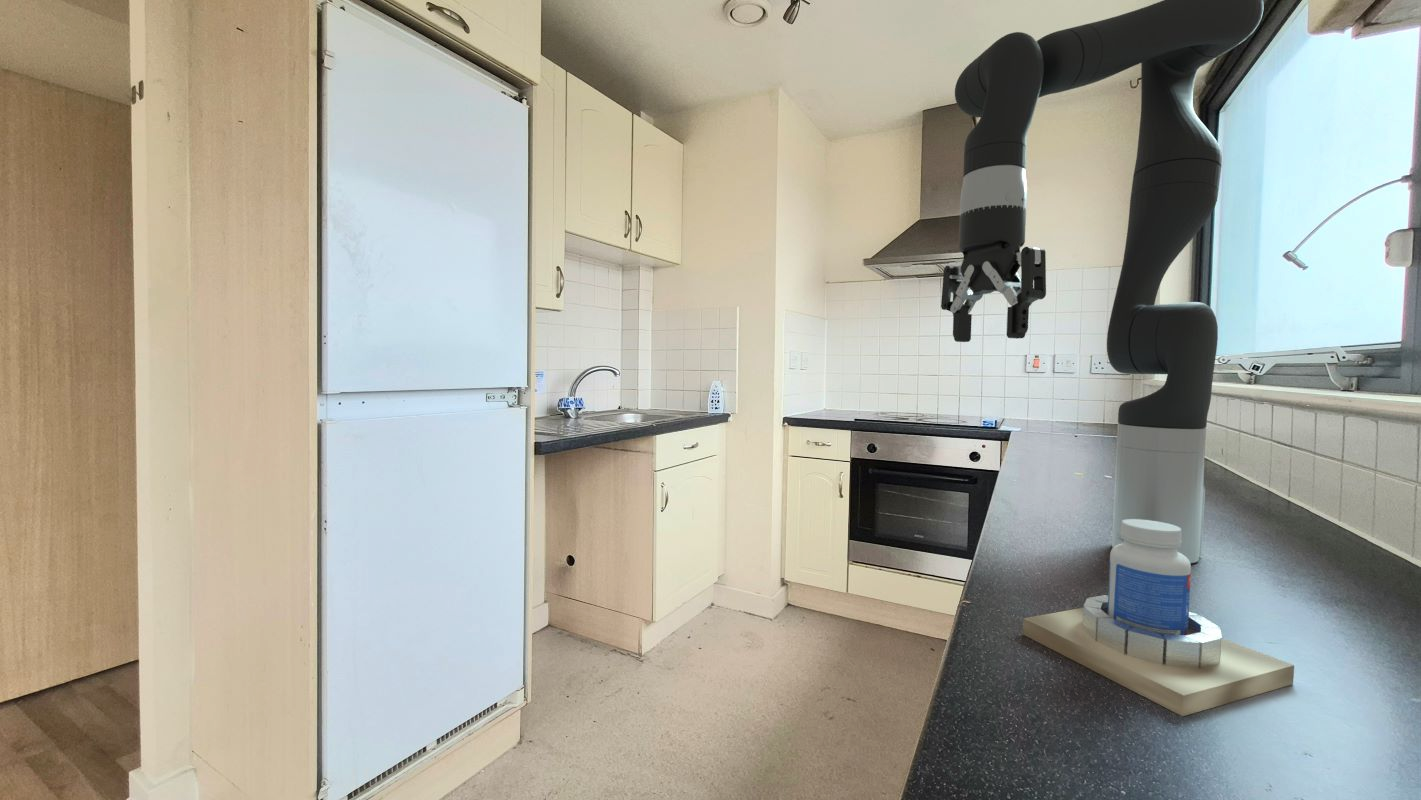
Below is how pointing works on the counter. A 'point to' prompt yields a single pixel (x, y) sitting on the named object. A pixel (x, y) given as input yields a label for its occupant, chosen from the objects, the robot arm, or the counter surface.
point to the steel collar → (1154, 638)
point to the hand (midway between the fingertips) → (987, 340)
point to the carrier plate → (1164, 667)
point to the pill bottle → (1150, 578)
